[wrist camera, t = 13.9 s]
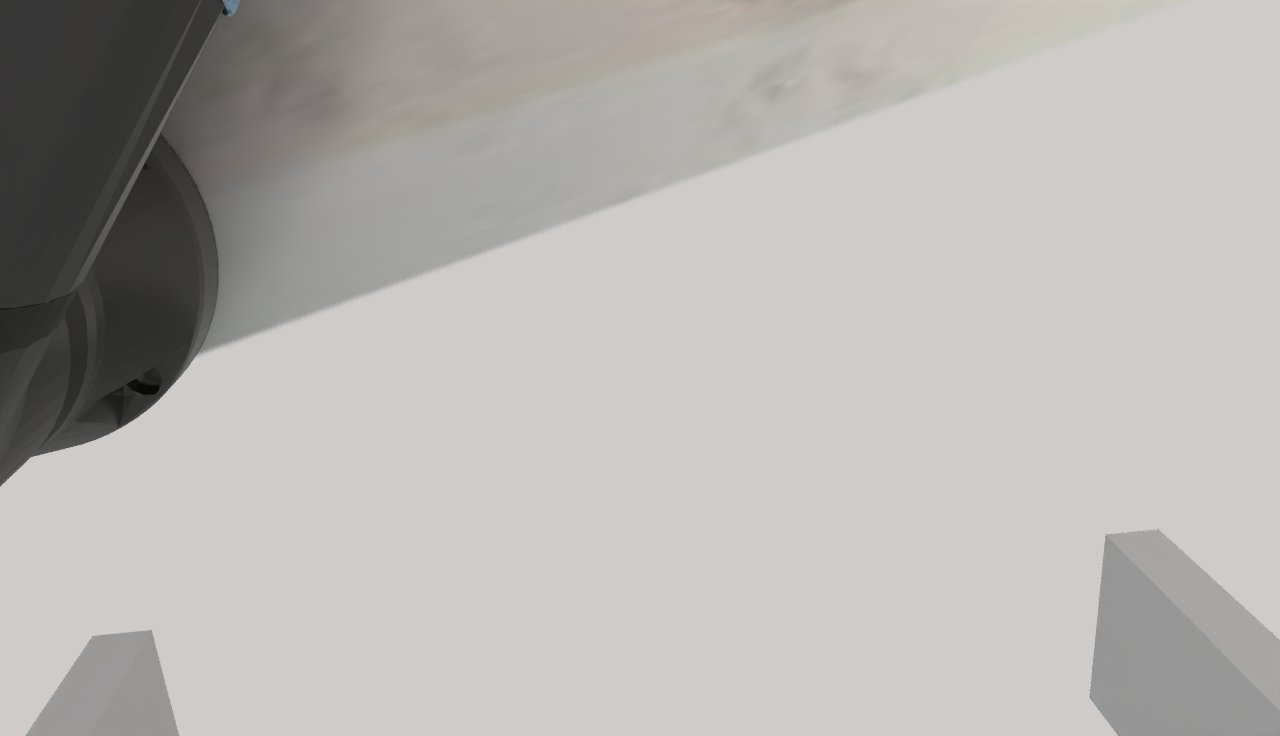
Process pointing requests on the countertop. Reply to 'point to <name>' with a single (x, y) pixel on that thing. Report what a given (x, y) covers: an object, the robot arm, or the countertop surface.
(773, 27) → the countertop surface
